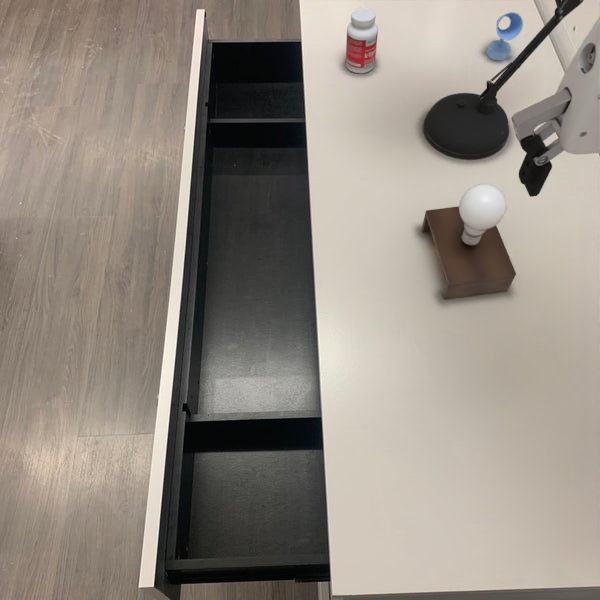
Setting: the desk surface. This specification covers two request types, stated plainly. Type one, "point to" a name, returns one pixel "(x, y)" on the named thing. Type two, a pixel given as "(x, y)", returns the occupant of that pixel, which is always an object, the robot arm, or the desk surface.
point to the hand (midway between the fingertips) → (578, 179)
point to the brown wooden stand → (468, 256)
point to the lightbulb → (481, 211)
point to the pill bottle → (361, 41)
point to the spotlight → (505, 37)
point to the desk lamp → (482, 107)
